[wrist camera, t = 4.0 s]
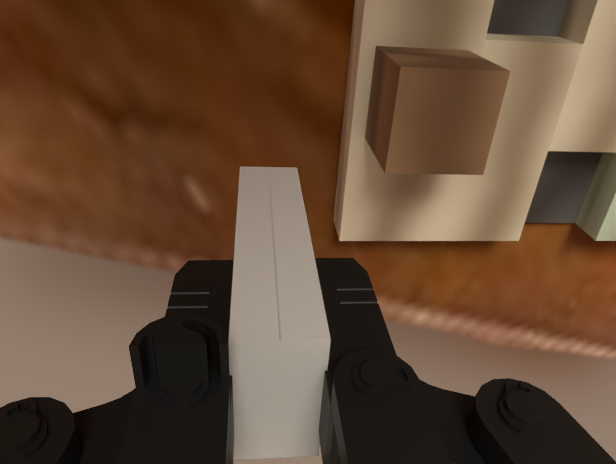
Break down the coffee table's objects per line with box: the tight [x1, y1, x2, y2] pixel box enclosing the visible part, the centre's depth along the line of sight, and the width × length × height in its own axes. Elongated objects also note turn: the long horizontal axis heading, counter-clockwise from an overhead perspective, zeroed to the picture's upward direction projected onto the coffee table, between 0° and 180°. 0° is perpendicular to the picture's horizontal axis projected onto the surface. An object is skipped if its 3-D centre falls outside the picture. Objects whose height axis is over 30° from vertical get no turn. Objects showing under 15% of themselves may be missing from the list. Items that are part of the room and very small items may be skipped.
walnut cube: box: [365, 46, 510, 175], centre depth 22 cm, size 4×4×4 cm
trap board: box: [333, 0, 616, 241], centre depth 25 cm, size 23×17×4 cm
